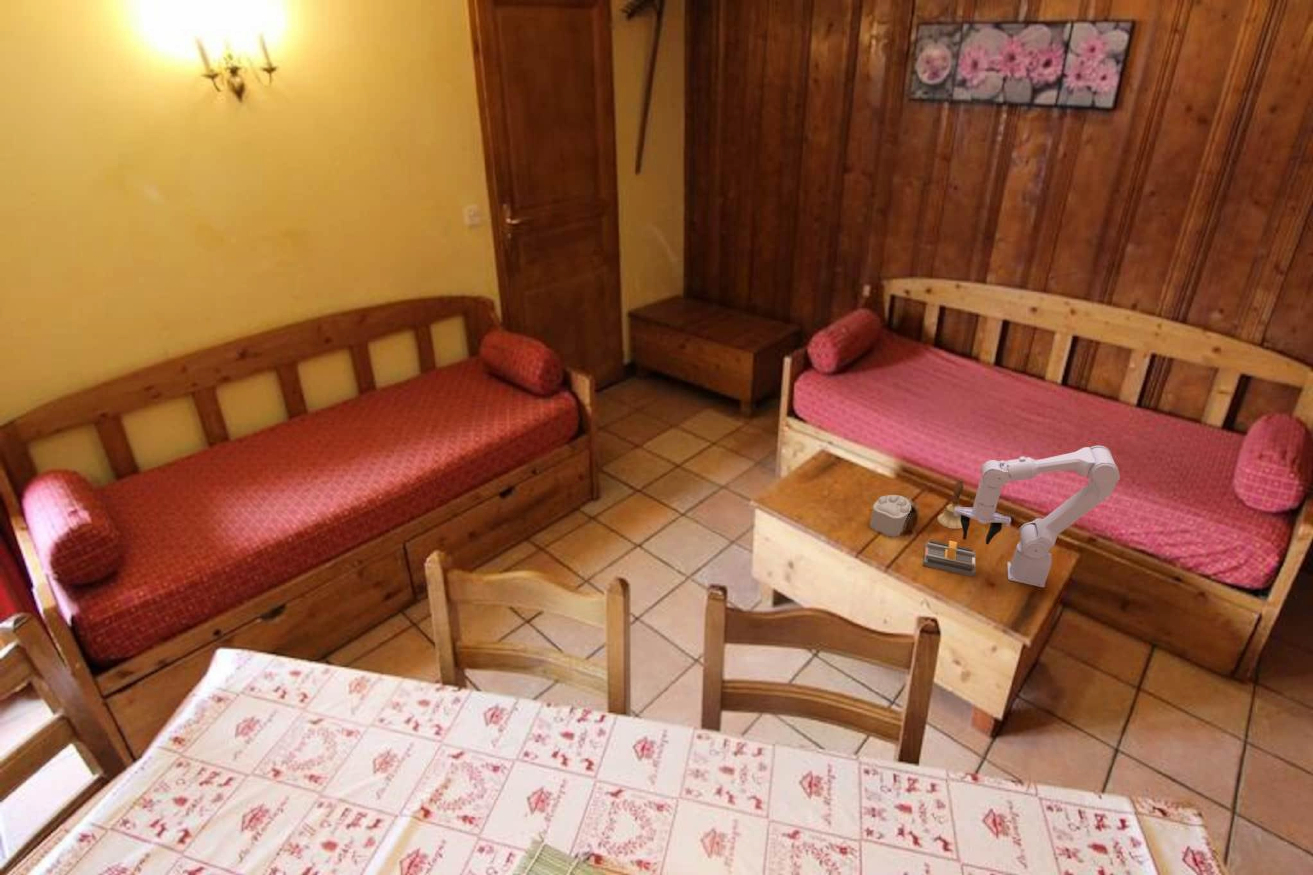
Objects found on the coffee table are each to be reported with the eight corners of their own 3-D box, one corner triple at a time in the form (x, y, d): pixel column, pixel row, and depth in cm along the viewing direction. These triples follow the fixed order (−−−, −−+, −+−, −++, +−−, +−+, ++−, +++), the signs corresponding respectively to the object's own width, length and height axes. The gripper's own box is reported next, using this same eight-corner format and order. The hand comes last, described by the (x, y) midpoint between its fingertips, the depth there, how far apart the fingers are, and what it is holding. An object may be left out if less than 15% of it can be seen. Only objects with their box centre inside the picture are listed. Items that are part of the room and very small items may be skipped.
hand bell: (938, 527, 227) (948, 485, 219) (936, 512, 234) (945, 471, 226) (966, 531, 226) (977, 488, 218) (963, 515, 233) (973, 474, 225)
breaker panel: (974, 556, 215) (976, 549, 213) (974, 577, 207) (976, 569, 205) (925, 545, 219) (926, 538, 218) (923, 565, 211) (924, 558, 210)
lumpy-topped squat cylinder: (865, 526, 228) (869, 503, 224) (884, 508, 236) (888, 486, 232) (896, 539, 222) (901, 516, 218) (914, 520, 230) (919, 498, 226)
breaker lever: (955, 553, 213) (958, 541, 211) (955, 562, 210) (958, 550, 208) (944, 551, 214) (947, 539, 212) (944, 559, 211) (947, 547, 209)
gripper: (958, 503, 199) (948, 542, 206) (1015, 514, 194) (1003, 553, 201) (958, 489, 205) (949, 528, 211) (1014, 500, 200) (1002, 539, 207)
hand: (975, 539), depth 207 cm, fingers open, 5 cm apart
